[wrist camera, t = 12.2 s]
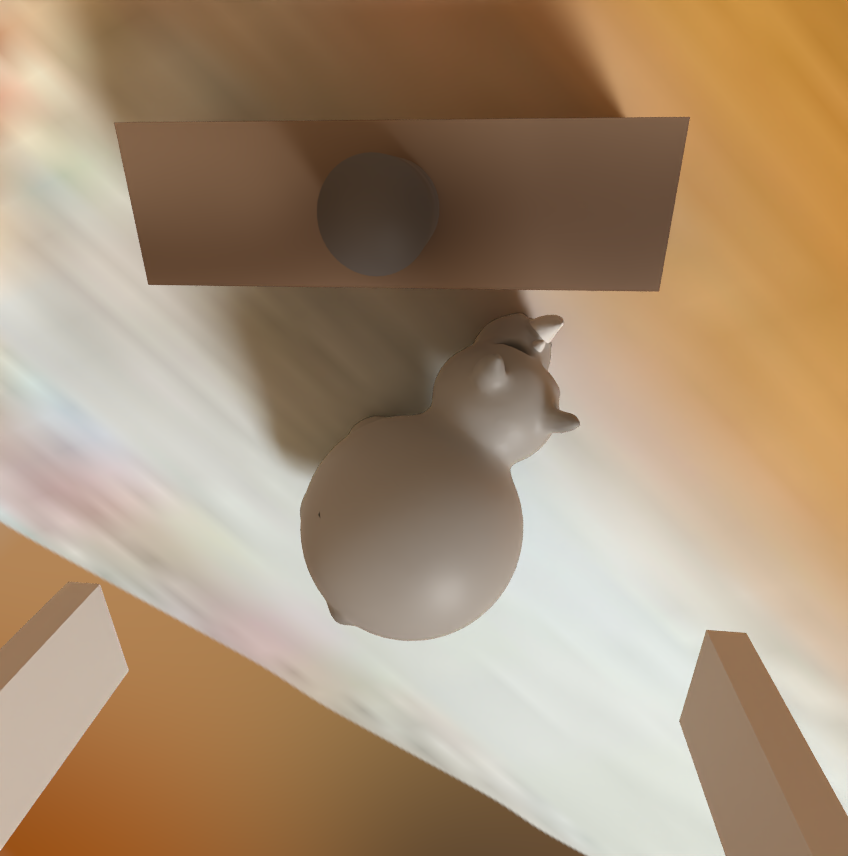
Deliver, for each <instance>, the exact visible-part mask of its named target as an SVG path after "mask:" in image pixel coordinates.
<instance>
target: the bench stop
mask: <svg viewBox="0 0 848 856" xmlns="http://www.w3.org/2000/svg"><path fill="white" fill-rule="evenodd" d="M689 119H690V117H637V118H535V119H433V120H331V121H229V122H127V123H114V124H115V129H116V134H117V138H118V143H119V148H120V153H121V157H122V162H123V167H124V171H125V176H126V181H127V186H128V190H129V195H130V200H131V205H132V209H133V214H134V219H135V224H136V228H137V233H138V238H139V243H140V247H141V252H142V257H143V261H144V266H145V271H146V276H147V280H148V285H207V286H283V287H359V288H435V289H511V290H587V291H659V288H660V283H661V277H662V272H663V266H664V260H665V255H666V249H667V243H668V238H669V232H670V226H671V221H672V215H673V209H674V204H675V198H676V193H677V187H678V181H679V176H680V170H681V164H682V159H683V153H684V147H685V142H686V136H687V131H688V125H689Z"/></svg>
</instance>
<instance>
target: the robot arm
mask: <svg viewBox="0 0 848 856" xmlns="http://www.w3.org/2000/svg"><path fill="white" fill-rule="evenodd" d="M128 671H129V670H128V667H127V664H126V661H125V658H124V655H123V652H122V649H121V646H120V643H119V640H118V638H117V634H116V631H115V628H114V625H113V622H112V619H111V616H110V613H109V610H108V607H107V604H106V601H105V598H104V595H103V592H102V589H101V586H100V584H90V583H78V582H68V583H67V584H66V585H65V586H64V587H63V588H62V589H61V590H60V591H58V592H57V594H55V595H54V596H53V597H52V599H50V600H49V601H48V602H47V603H46V604H45V605H44V606H43V607H42V608H41V609H40V610H39V611H38V612H37V613H36V614H35V615H34V616H33V617H32V618H31V619H30V620H29V621H28V622H27V623H26V624H25V625H24V626H23V627H22V628H21V629H20V630H19V631H18V632H17V633H16V634H15V635H14V636H13V637H12V638H11V639H10V640H9V641H8V642H7V643H6V644H5V645H4V646H3V647H2V648H1V649H0V850H1V849H2V848H3V846H4V845H5V843H6V842H7V841H8V839H9V838H10V836H11V835H12V834H13V832H14V831H15V829H16V828H17V826H18V825H19V824H20V822H21V821H22V819H23V818H24V817H25V815H26V814H27V812H28V811H29V810H30V808H31V807H32V806H33V804H34V803H35V801H36V800H37V798H38V797H39V796H40V794H41V793H42V792H43V790H44V789H45V787H46V786H47V785H48V783H49V782H50V780H51V779H52V777H53V776H54V775H55V773H56V772H57V771H58V769H59V768H60V766H61V765H62V763H63V762H64V761H65V759H66V758H67V757H68V755H69V754H70V752H71V751H72V750H73V748H74V747H75V745H76V744H77V743H78V741H79V740H80V738H81V737H82V736H83V734H84V733H85V731H86V730H87V728H88V727H89V726H90V724H91V723H92V721H93V720H94V719H95V717H96V716H97V715H98V713H99V712H100V710H101V709H102V708H103V706H104V705H105V703H106V702H107V700H108V699H109V698H110V696H111V695H112V693H113V692H114V691H115V689H116V688H117V687H118V685H119V684H120V682H121V681H122V679H123V678H124V677H125V675H126V674H127V673H128ZM679 722H680V725H681V727H682V730H683V733H684V736H685V739H686V742H687V745H688V748H689V751H690V754H691V756H692V759H693V762H694V765H695V768H696V771H697V774H698V777H699V780H700V783H701V785H702V788H703V791H704V794H705V797H706V800H707V803H708V806H709V809H710V812H711V814H712V817H713V820H714V823H715V826H716V829H717V832H718V835H719V838H720V841H721V844H722V846H723V849H724V852H725V855H726V856H848V816H847V814H846V813H845V811H844V809H843V807H842V805H841V804H840V802H839V800H838V798H837V796H836V794H835V793H834V791H833V789H832V787H831V785H830V784H829V782H828V780H827V778H826V776H825V775H824V773H823V771H822V769H821V767H820V766H819V764H818V762H817V760H816V758H815V757H814V755H813V753H812V751H811V749H810V747H809V746H808V744H807V742H806V740H805V738H804V737H803V735H802V733H801V731H800V729H799V728H798V726H797V724H796V722H795V720H794V719H793V717H792V715H791V713H790V711H789V710H788V708H787V706H786V704H785V702H784V700H783V699H782V697H781V695H780V693H779V691H778V690H777V688H776V686H775V684H774V682H773V681H772V679H771V677H770V675H769V673H768V672H767V670H766V668H765V666H764V664H763V663H762V661H761V659H760V657H759V655H758V653H757V652H756V650H755V648H754V646H753V644H752V643H751V641H750V639H749V637H748V635H747V634H746V633H739V632H726V631H713V630H706V633H705V637H704V640H703V643H702V647H701V650H700V653H699V657H698V660H697V663H696V667H695V670H694V674H693V677H692V680H691V684H690V687H689V690H688V694H687V697H686V700H685V704H684V707H683V711H682V714H681V717H680V721H679Z"/></svg>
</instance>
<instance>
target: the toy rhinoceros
mask: <svg viewBox="0 0 848 856" xmlns="http://www.w3.org/2000/svg"><path fill="white" fill-rule="evenodd" d="M563 324H564V320H563V319H562V318H561V317H560V316H557V315H545V316H541V317H538V318H535V319H532V318H528V317H527V316H526V315H524V314H522V313H515V314H512V315H508V316H504V317H500V318H497V319H495V320H493V321H491V322H490V323H489V324H487V325H486V326H485V327H484V328H483V330H482V331H481V332H480V333H479V335H478V336H477V338H476V340H475V342H474V344H473V345H471V346H469V347H467V348H465V349H463V350H461V351H459V352H458V353H456V354H455V355H453V356H452V357H451V358H450V359H449V360H448V361H447V362H446V363H445V364H444V365H443V367H442V368H441V370H440V371H439V373H438V375H437V377H436V380H435V383H434V387H433V396H432V403H431V406H430V408H429V409H428V410H427V411H425V412H423V413H421V414H417V415H400V416H393V417H385V416H373V417H369V418H366V419H363V420H362V421H360V422H358V423H357V424H356V425H355V426H354V427H353V428H352V429H351V431H350V432H349V434H348V436H347V437H345V438H344V439H343V440H341V441H340V442H339V443H338V444H337V445H336V446H335V447H334V448H333V449H332V450H331V451H330V452H329V453H328V454H327V456H326V457H325V458H324V459H323V461H322V462H321V464H320V465H319V467H318V468H317V470H316V472H315V473H314V475H313V477H312V479H311V481H310V484H309V486H308V489H307V492H306V494H305V495H304V498H303V500H302V503H301V508H300V518H301V529H300V531H301V543H302V549H303V554H304V558H305V561H306V565H307V568H308V570H309V573H310V575H311V577H312V579H313V581H314V583H315V585H316V586H317V588H318V590H319V591H320V593H321V594H322V595H323V597H324V598H325V600H326V602H327V605H328V608H329V611H330V613H331V615H332V617H333V618H334V620H335V621H336V622H338V623H340V624H343V625H352V626H357V627H359V628H361V629H363V630H365V631H367V632H369V633H372V634H375V635H378V636H381V637H384V638H389V639H395V640H402V641H418V640H429V639H434V638H438V637H442V636H446V635H448V634H451V633H453V632H456V631H458V630H460V629H462V628H464V627H466V626H468V625H469V624H471V623H472V622H474V621H475V620H477V619H478V618H479V617H481V616H482V615H483V614H484V613H485V612H486V611H487V610H488V609H489V608H490V607H491V606H492V605H493V604H494V603H495V602H496V601H497V600H498V598H499V597H500V596H501V594H502V593H503V592H504V590H505V588H506V587H507V585H508V583H509V582H510V580H511V578H512V576H513V573H514V571H515V569H516V566H517V563H518V560H519V556H520V552H521V547H522V540H523V515H522V509H521V504H520V500H519V497H518V493H517V491H516V488H515V485H514V483H513V480H512V477H511V472H510V469H511V467H512V466H513V465H514V464H515V463H517V462H519V461H522V460H524V459H526V458H528V457H530V456H531V455H533V454H534V453H535V452H537V451H538V450H539V449H540V448H541V447H542V446H543V445H544V444H545V443H546V441H547V440H548V439H549V437H550V436H551V434H552V433H564V432H568V431H572V430H574V429H575V428H577V427H578V426H579V425H580V422H579V420H578V418H577V417H576V416H575V415H573V414H570V413H567V412H563V411H561V410H559V396H560V390H559V387H558V385H557V383H556V382H555V380H554V378H553V377H552V376H551V375H550V373H549V372H548V367H549V364H550V359H551V346H552V344H551V340H552V339H553V338H554V336H555V335H556V333H557V332H558V331H559V329H560V328H561V327H562V325H563Z"/></svg>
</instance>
